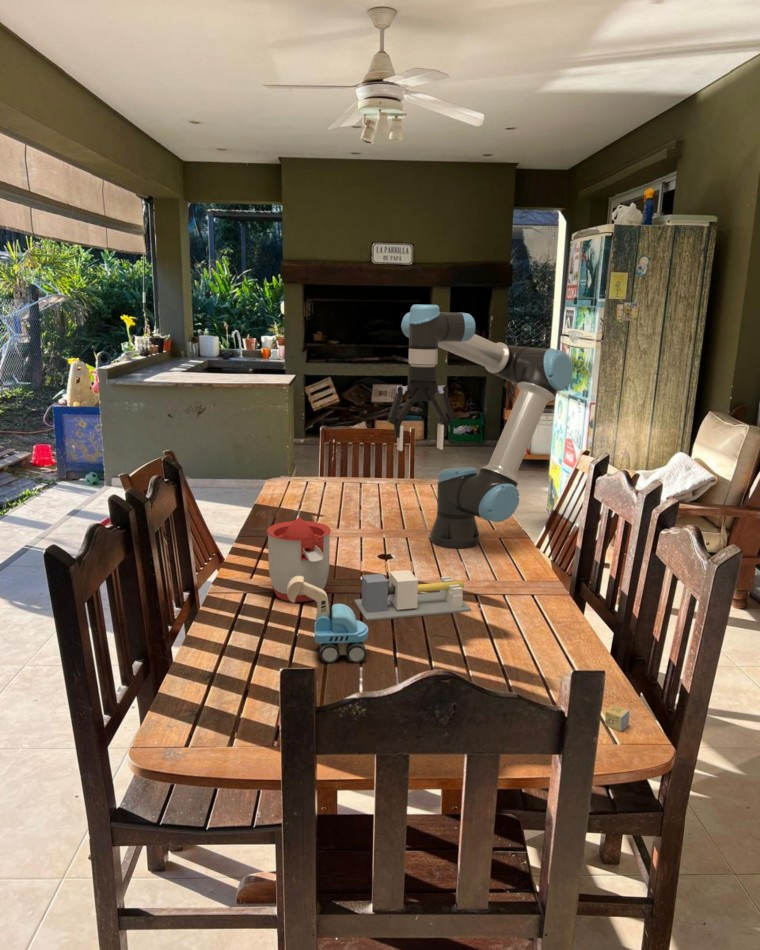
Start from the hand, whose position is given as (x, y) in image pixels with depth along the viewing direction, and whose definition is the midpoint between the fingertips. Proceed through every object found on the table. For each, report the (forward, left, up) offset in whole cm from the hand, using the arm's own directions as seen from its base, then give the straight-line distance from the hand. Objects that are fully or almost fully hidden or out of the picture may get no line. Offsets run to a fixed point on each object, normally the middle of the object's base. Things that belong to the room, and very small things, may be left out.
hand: (419, 449), depth 201 cm
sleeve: (+11, +24, -33) cm, 42 cm away
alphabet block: (-9, +83, -34) cm, 90 cm away
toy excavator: (+34, +44, -34) cm, 66 cm away
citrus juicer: (+34, +11, -34) cm, 49 cm away
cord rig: (+9, +24, -34) cm, 42 cm away
